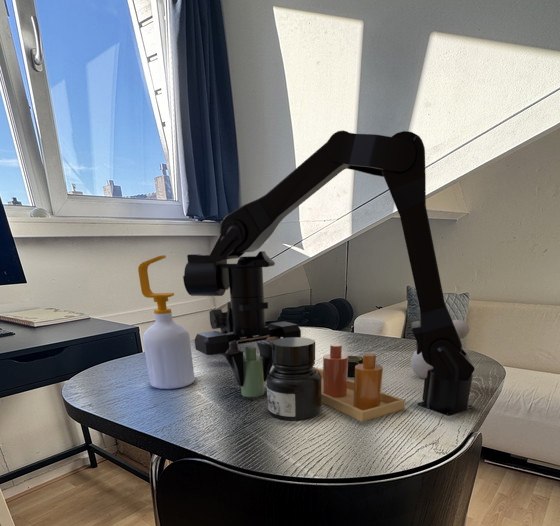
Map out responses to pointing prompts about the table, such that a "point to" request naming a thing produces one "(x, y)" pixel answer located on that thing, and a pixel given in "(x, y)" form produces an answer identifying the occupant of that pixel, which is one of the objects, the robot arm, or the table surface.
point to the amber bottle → (367, 383)
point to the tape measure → (353, 364)
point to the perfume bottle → (417, 360)
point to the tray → (346, 406)
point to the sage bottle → (252, 374)
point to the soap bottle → (165, 341)
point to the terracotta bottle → (335, 372)
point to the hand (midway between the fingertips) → (252, 383)
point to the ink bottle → (294, 380)
